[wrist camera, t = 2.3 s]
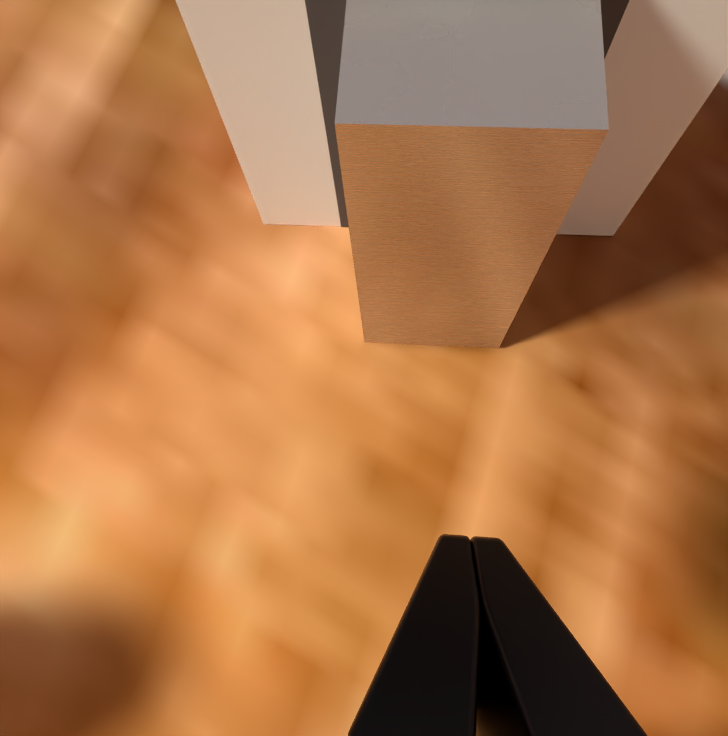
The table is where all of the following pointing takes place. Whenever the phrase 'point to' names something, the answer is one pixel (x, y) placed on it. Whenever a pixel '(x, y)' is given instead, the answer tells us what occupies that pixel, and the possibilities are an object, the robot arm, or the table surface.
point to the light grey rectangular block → (462, 155)
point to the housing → (320, 88)
